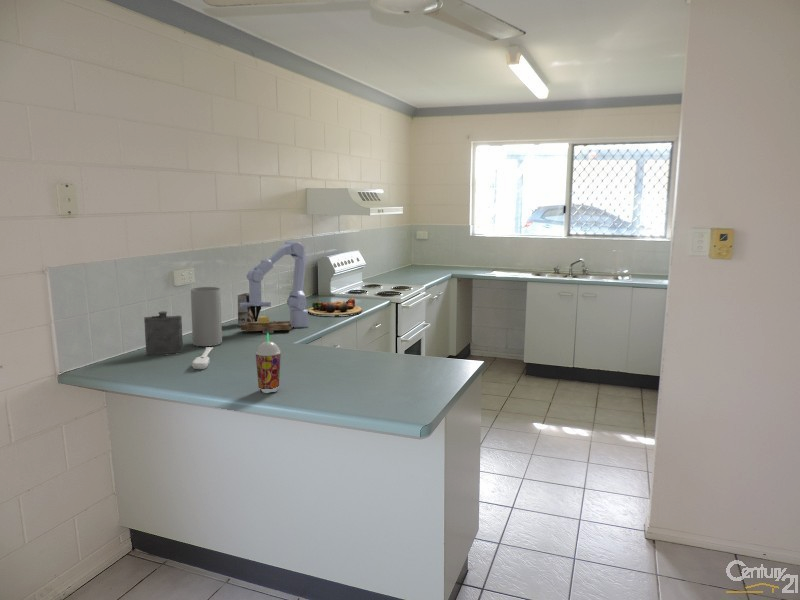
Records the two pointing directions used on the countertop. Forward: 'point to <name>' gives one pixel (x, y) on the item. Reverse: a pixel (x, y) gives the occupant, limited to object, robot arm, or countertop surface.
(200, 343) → the cylinder vase
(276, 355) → the smoothie
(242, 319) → the coffee box
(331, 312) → the wooden plate with food
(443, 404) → the countertop surface
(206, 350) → the spatula
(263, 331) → the fulcrum
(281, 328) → the brown wooden tray
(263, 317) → the block
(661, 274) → the countertop surface
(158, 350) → the flask
